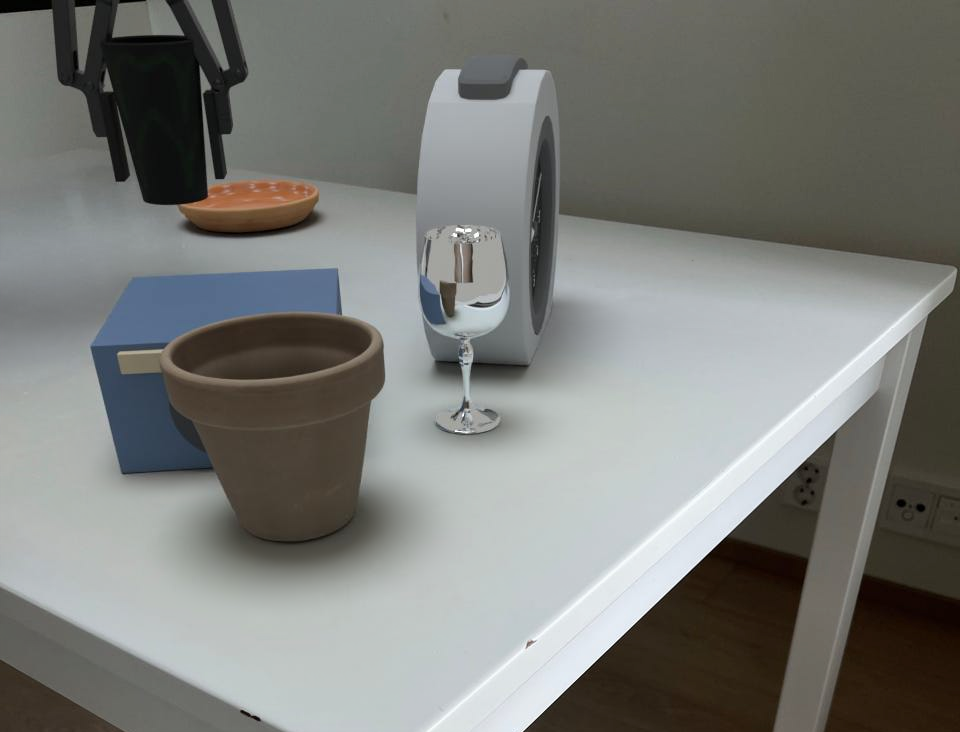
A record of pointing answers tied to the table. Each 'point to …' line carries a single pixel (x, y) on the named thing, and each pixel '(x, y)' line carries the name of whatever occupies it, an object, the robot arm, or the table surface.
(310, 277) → the blue tabbed box
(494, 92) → the alarm clock
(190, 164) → the cup
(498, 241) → the wineglass
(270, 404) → the flower pot
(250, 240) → the table surface
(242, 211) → the saucer
